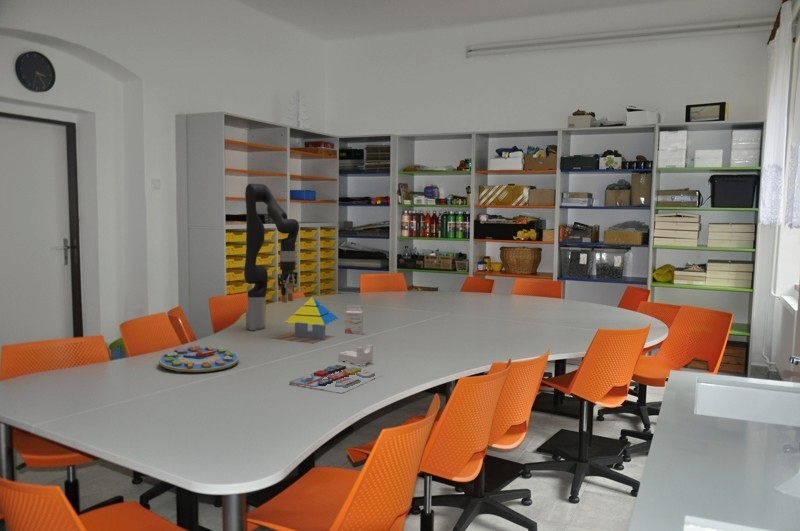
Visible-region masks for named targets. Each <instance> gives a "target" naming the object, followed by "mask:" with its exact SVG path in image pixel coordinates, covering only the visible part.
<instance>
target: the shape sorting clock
mask: <svg viewBox="0 0 800 531" xmlns="http://www.w3.org/2000/svg"><path fill="white" fill-rule="evenodd" d="M239 359H240V357H239V355H238V353H236V352H234V351H232V350H229V349H226V348H225V347H212V346H211V345H207V346H205V347H203V346H202V347H201V346H199V345H191V346H189V347H187V348H186V347H179V348H178V347H177V348H174V350H172V351H169V352H168V351H167V352H165V353H163V355H161V356H160V357H159V358H158V363H159V365H160V366H161V367H163V368H165V369H167V370H170V371H175V373H177V374H178V373H204V372H214V371H220V370H224V369H230V368H231V369H232V366H235V365H236V364H237V363H238V362H239Z"/></svg>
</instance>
